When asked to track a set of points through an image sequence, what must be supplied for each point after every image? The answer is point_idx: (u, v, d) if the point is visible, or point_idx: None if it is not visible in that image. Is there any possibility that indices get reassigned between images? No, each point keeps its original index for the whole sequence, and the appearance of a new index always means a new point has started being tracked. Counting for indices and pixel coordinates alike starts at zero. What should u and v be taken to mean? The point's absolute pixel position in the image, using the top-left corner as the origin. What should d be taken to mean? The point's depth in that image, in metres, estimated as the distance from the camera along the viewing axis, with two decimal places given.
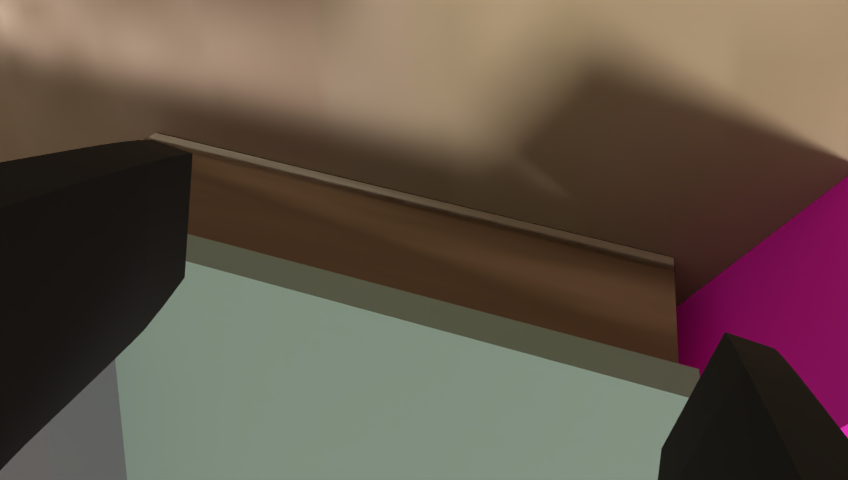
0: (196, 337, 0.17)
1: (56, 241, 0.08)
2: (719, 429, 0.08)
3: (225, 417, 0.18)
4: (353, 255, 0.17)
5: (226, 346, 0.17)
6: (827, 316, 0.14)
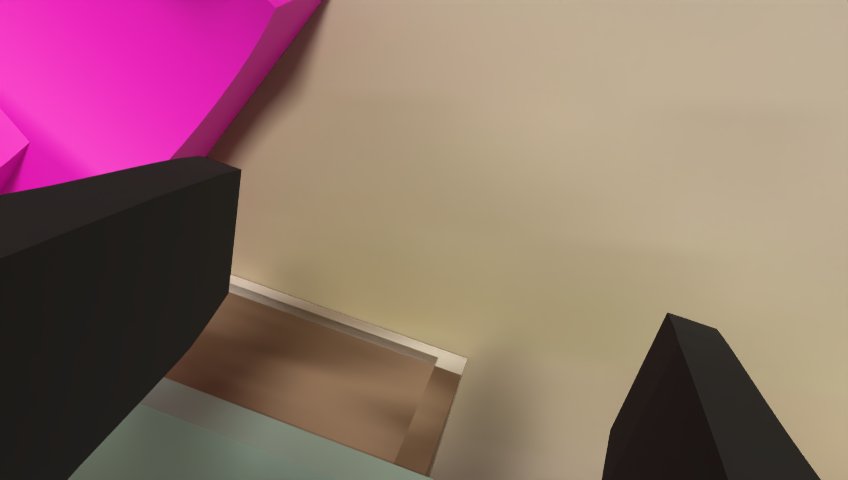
0: None
1: (115, 262, 0.08)
2: (655, 406, 0.08)
3: None
4: None
5: None
6: None
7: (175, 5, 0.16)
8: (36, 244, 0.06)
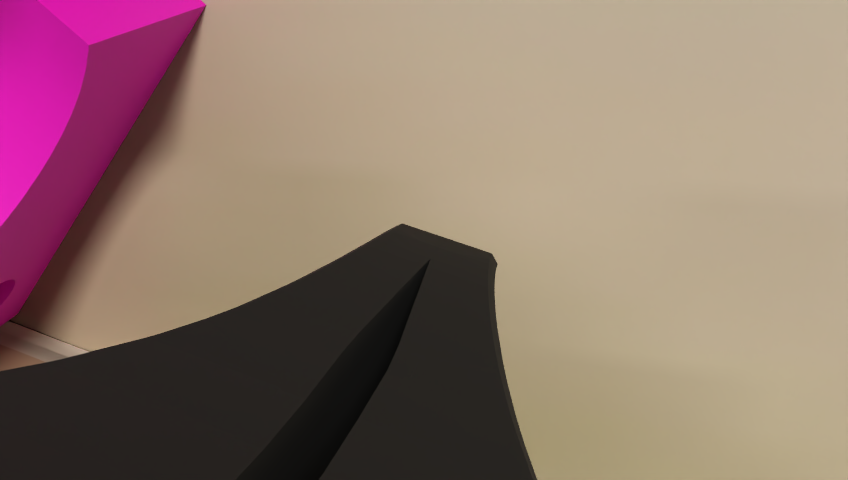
0: None
1: (372, 355, 0.07)
2: None
3: None
4: None
5: None
6: None
7: None
8: (335, 353, 0.06)
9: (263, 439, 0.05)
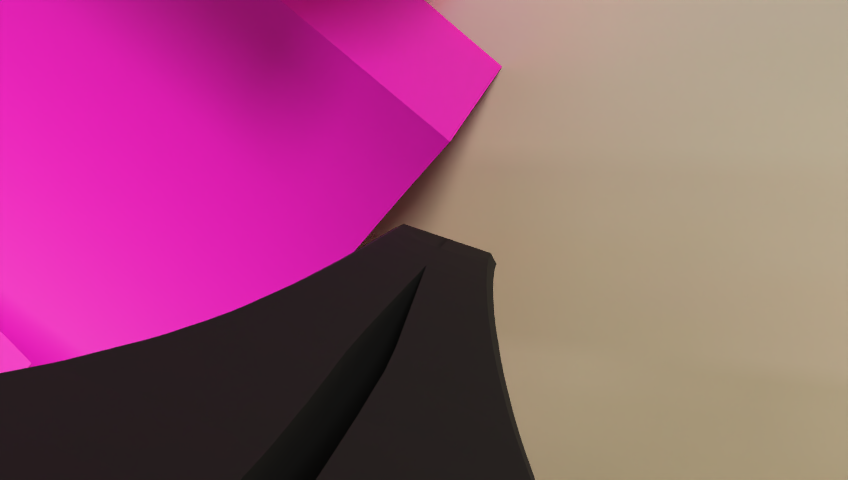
0: None
1: (374, 355, 0.07)
2: None
3: None
4: None
5: None
6: None
7: (259, 133, 0.10)
8: (338, 353, 0.06)
9: (266, 440, 0.05)
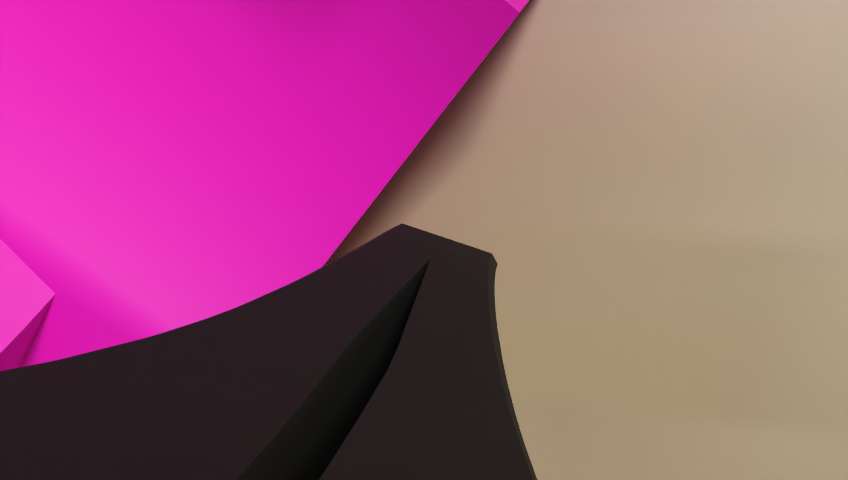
0: None
1: (372, 355, 0.07)
2: None
3: None
4: None
5: None
6: None
7: (300, 28, 0.09)
8: (335, 353, 0.06)
9: (263, 439, 0.05)
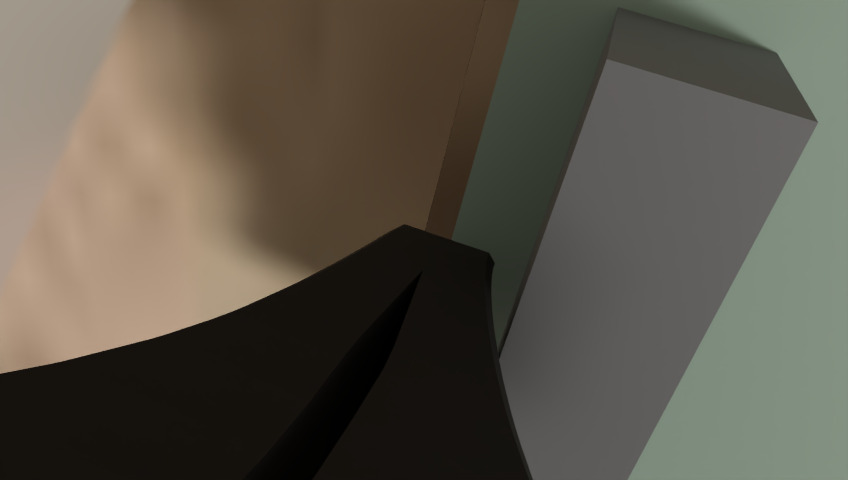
0: None
1: (375, 356, 0.07)
2: None
3: None
4: None
5: None
6: None
7: None
8: (339, 354, 0.06)
9: (267, 440, 0.05)
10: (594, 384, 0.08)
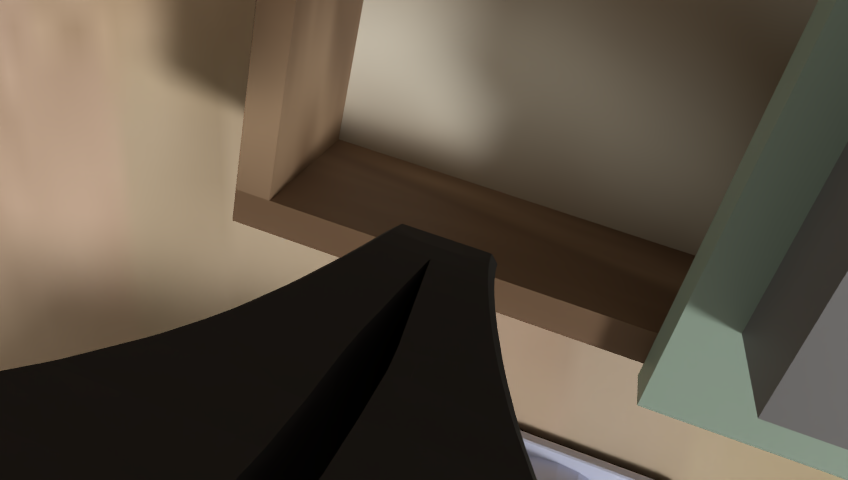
0: None
1: (371, 355, 0.07)
2: None
3: None
4: None
5: None
6: None
7: None
8: (335, 352, 0.06)
9: (263, 439, 0.05)
10: None
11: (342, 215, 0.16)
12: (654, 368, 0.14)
